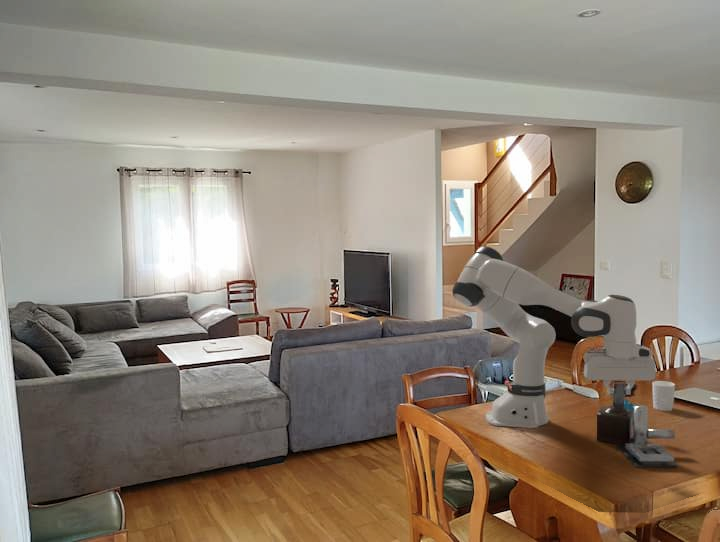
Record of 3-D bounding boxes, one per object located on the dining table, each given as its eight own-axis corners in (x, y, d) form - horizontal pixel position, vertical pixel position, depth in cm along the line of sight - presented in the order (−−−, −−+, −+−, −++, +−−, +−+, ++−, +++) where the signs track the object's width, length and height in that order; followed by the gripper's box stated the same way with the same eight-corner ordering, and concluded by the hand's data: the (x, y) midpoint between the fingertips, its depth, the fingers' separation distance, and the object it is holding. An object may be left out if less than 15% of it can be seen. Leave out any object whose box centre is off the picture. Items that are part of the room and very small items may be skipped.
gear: (628, 421, 213) (613, 397, 219) (617, 429, 217) (602, 405, 223) (647, 420, 219) (632, 396, 225) (636, 428, 223) (621, 404, 229)
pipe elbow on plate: (635, 467, 178) (636, 419, 176) (615, 447, 193) (616, 402, 192) (691, 467, 177) (692, 419, 176) (666, 447, 193) (667, 402, 191)
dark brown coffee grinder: (631, 447, 194) (633, 392, 192) (595, 441, 199) (596, 388, 198) (637, 432, 207) (638, 381, 206) (603, 427, 213) (603, 377, 211)
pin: (614, 408, 179) (615, 382, 178) (610, 404, 182) (611, 379, 181) (626, 408, 178) (627, 382, 178) (622, 404, 182) (622, 379, 181)
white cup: (652, 410, 230) (653, 385, 230) (650, 404, 238) (651, 380, 237) (675, 412, 227) (676, 387, 227) (673, 406, 235) (673, 381, 234)
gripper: (587, 351, 176) (586, 397, 178) (658, 351, 175) (657, 397, 176) (581, 347, 183) (580, 391, 184) (649, 346, 181) (648, 391, 182)
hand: (618, 394), depth 180 cm, fingers closed on pin, 3 cm apart
